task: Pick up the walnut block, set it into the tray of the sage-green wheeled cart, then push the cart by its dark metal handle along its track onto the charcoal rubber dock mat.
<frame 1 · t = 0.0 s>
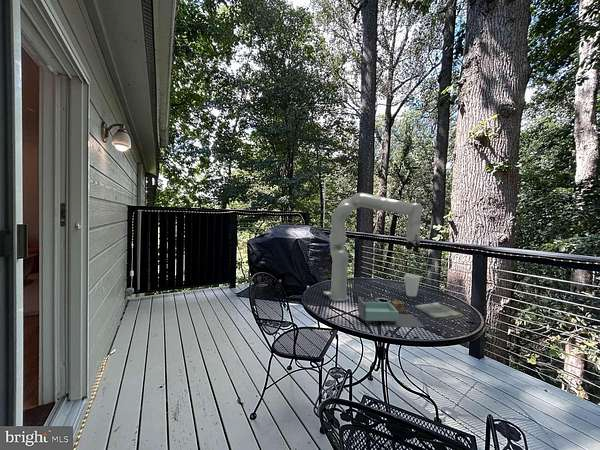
hand: (412, 250, 185), 31 cm above the table, tool pointing down, fingers open, 9 cm apart
walnut block: (397, 311, 167), on the table
dock mat: (400, 320, 153), on the table
foam cup: (411, 295, 198), on the table
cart: (377, 310, 152), point 5 cm above the table, slide at 0.0 cm
dish towel: (438, 313, 167), on the table
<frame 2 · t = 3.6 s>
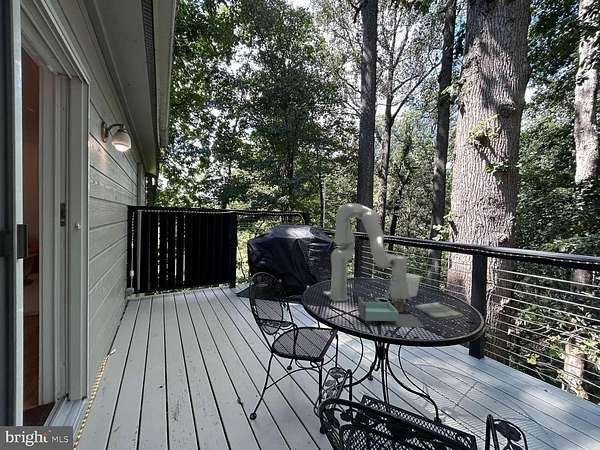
hand: (397, 309, 167), 1 cm above the table, tool pointing down, fingers closed on walnut block, 5 cm apart
walnut block: (397, 310, 167), on the table, touching gripper
everything else where it was.
when the fingers open (6 cm above the table, at t = 8.8 s): walnut block drops 1 cm, resting on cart.
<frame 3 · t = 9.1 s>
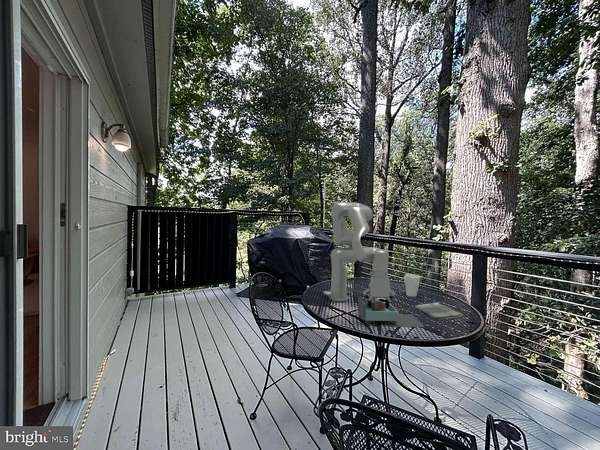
hand: (378, 307, 152), 7 cm above the table, tool pointing down, fingers open, 8 cm apart
walnut block: (377, 312, 153), point 4 cm above the table, touching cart
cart: (377, 310, 152), point 5 cm above the table, slide at 0.0 cm, touching walnut block
everything else where it was.
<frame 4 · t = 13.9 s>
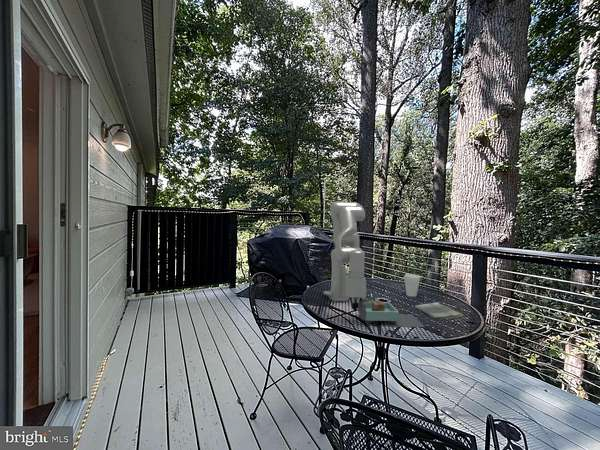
hand: (354, 309, 152), 5 cm above the table, tool pointing down, fingers closed
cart: (377, 310, 152), point 5 cm above the table, slide at 0.1 cm, touching gripper, walnut block
everything else where it was.
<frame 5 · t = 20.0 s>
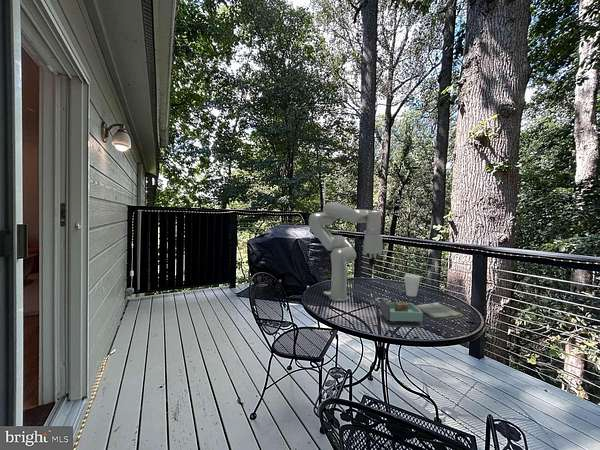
hand: (371, 265, 167), 25 cm above the table, tool pointing down, fingers closed
walnut block: (401, 312, 153), point 4 cm above the table, touching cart
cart: (400, 310, 153), point 5 cm above the table, slide at 12.0 cm, touching walnut block
everything else where it was.
at the end: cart slide at 12.0 cm; walnut block inside the target area (0.1 cm from its centre), point 3.9 cm above the table; the gripper is holding nothing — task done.
